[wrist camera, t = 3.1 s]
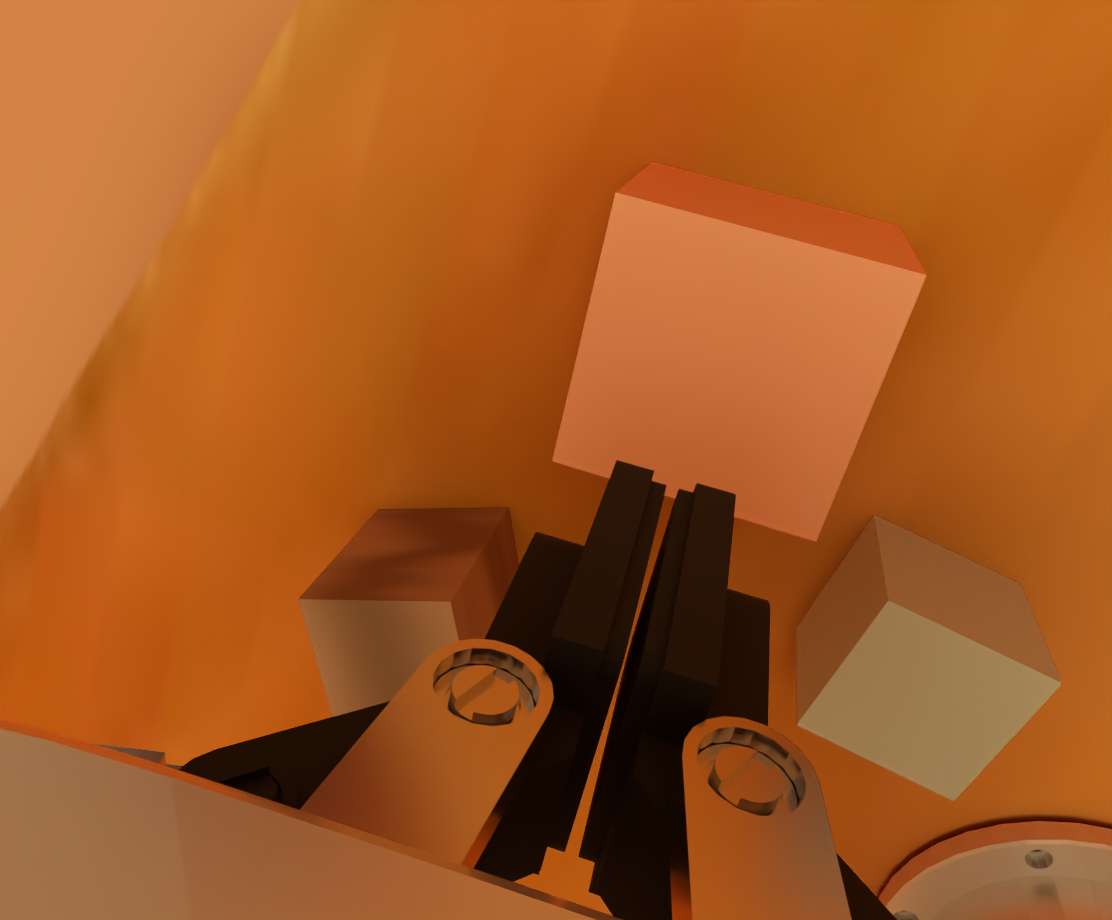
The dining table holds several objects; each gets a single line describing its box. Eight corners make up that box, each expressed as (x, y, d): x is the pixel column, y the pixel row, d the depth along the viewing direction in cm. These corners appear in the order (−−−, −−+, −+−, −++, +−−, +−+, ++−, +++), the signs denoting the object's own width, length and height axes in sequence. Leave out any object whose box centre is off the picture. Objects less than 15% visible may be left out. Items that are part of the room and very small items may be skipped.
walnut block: (508, 506, 31) (450, 601, 26) (529, 626, 33) (479, 737, 28) (378, 509, 32) (298, 599, 27) (406, 623, 34) (336, 728, 29)
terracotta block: (898, 225, 24) (927, 274, 19) (812, 446, 28) (816, 541, 22) (653, 161, 25) (615, 192, 20) (597, 383, 28) (552, 461, 23)
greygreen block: (1020, 582, 28) (1062, 683, 23) (930, 691, 30) (953, 801, 26) (873, 513, 28) (888, 600, 24) (795, 626, 30) (796, 725, 26)
